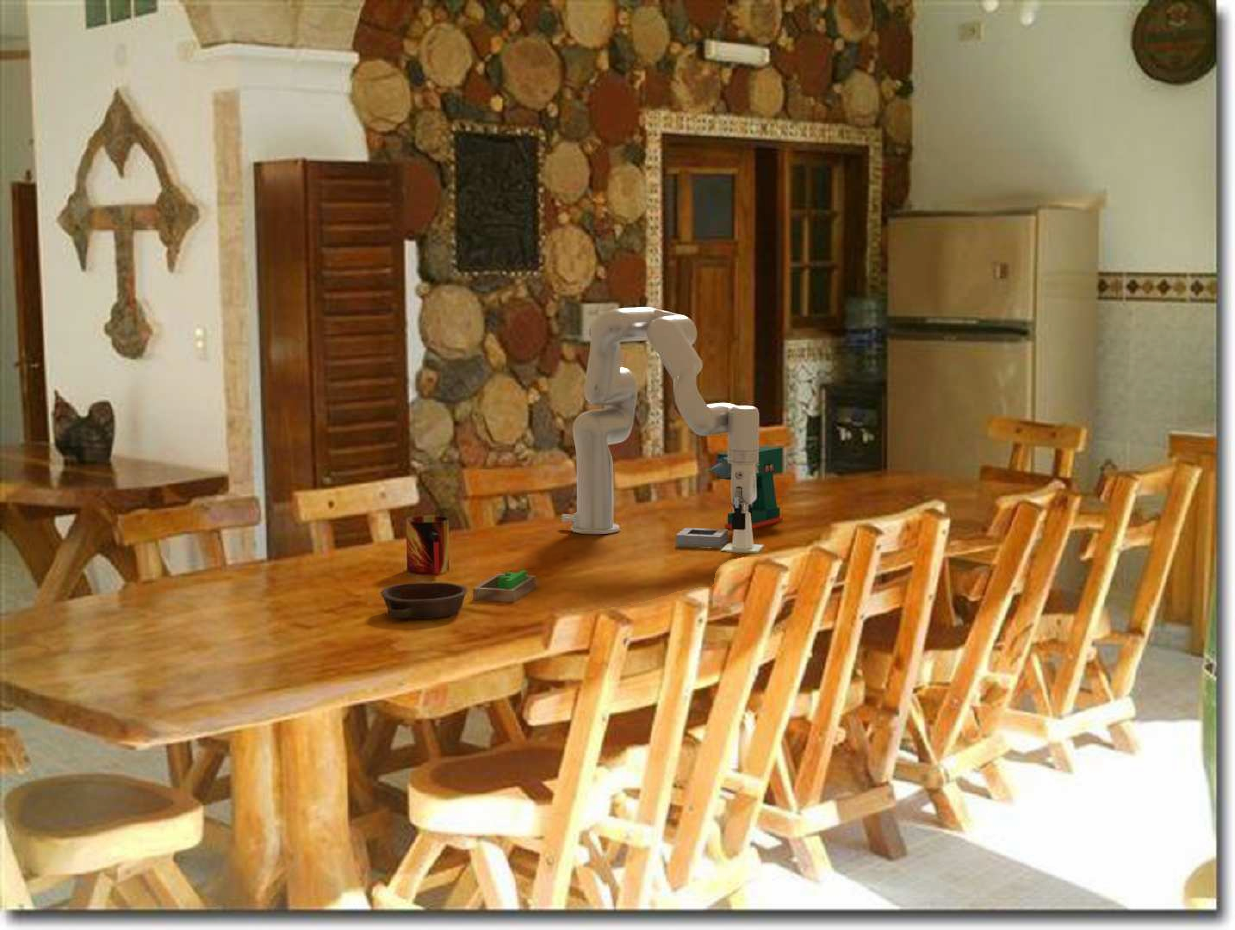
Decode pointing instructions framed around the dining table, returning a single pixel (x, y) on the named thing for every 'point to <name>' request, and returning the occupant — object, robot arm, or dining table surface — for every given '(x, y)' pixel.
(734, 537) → the pepper shaker
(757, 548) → the pad
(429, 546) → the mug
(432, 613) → the dish
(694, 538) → the block
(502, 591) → the tray
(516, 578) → the green bumpy block
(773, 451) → the power tool
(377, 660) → the dining table surface
